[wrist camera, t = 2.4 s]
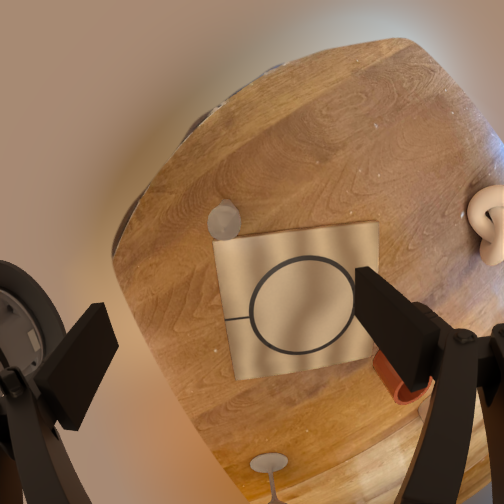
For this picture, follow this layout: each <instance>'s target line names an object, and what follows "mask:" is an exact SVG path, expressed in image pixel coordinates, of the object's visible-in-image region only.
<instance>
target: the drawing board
mask: <svg viewBox="0 0 504 504" xmlns="http://www.w3.org/2000/svg"><path fill="white" fill-rule="evenodd" d="M212 243H213V250H214V256H215V263H216V269H217V276H218V282H219V288H220V295H221V301H222V307H223V313H224V319H225V324H226V330H227V336H228V342H229V347H230V353H231V358H232V364H233V369H234V374H235V380H245V379H253V378H261V377H268V376H275V375H281V374H288V373H294V372H300V371H305V370H311V369H316V368H322V367H327V366H332V365H336V364H341V363H346V362H350V361H355V360H359V359H363V358H367V357H371V356H372V350H373V339H372V338H371V337H370V335H369V334H368V333H367V331H366V330H365V329H364V327H363V326H362V325H361V323H360V322H359V321H358V319H357V318H356V317H355V315H354V312H355V268H359V267H365V266H369V267H370V268H371V269H373V270H374V271H375V272H376V273H377V274H378V271H379V221H376V220H373V221H363V222H354V223H345V224H336V225H327V226H318V227H310V228H301V229H292V230H284V231H276V232H267V233H259V234H251V235H243V236H236V237H235V238H233V239H231V240H226V241H222V240H217V239H213V241H212Z"/></svg>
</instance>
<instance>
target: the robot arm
mask: <svg viewBox="0 0 504 504" xmlns="http://www.w3.org/2000/svg"><path fill="white" fill-rule="evenodd" d="M354 315H355V317H356V318H357V319H358V321H359V322H360V323H361V325H362V326H363V327H364V329H365V330H366V331H367V333H368V334H369V335H370V337H371V338H372V339H373V341H374V342H375V343H376V345H377V346H378V347H379V349H380V350H381V352H382V353H383V354H384V356H385V357H386V358H387V360H388V361H389V363H390V364H391V365H392V367H393V368H394V370H395V371H396V372H397V374H398V375H399V377H400V378H401V379H402V381H403V382H404V384H405V385H406V386H407V388H408V389H409V391H410V392H411V393H413V392H416V391H418V390H421V389H424V388H426V387H427V386H428V383H429V379H430V376H431V377H432V378H433V379H434V380H435V385H434V388H433V391H432V395H431V398H430V404H429V407H428V411H427V415H426V418H425V422H424V425H423V428H422V431H421V434H420V438H419V441H418V444H417V447H416V449H415V452H414V455H413V458H412V461H411V463H410V466H409V468H408V471H407V473H406V476H405V478H404V481H403V483H402V486H401V488H400V490H399V493H398V495H397V497H396V499H395V501H394V504H456V500H457V497H458V493H459V490H460V486H461V482H462V478H463V474H464V469H465V465H466V460H467V455H468V450H469V445H470V439H471V433H472V426H473V419H474V410H475V401H476V389H477V390H478V394H479V399H480V404H481V408H482V413H483V419H484V424H485V430H486V436H487V443H488V450H489V458H490V468H491V479H492V496H493V504H504V323H501V324H497V325H495V326H494V327H493V329H492V333H491V336H486V337H478V338H477V335H476V334H475V333H474V332H472V331H470V330H467V329H453V328H452V327H451V326H450V325H449V324H448V323H446V322H445V321H444V320H443V319H442V318H441V317H438V315H437V314H436V313H435V312H433V311H432V310H431V309H430V308H429V307H428V306H426V305H424V304H422V303H419V302H413V303H411V302H410V301H409V300H408V299H407V298H406V297H404V296H403V295H402V294H401V293H400V292H399V291H397V290H396V289H395V288H394V287H393V286H392V285H390V284H389V283H388V282H387V281H386V280H385V279H383V278H382V277H381V276H380V275H379V274H377V273H376V272H375V271H374V270H373V269H371V268H370V267H369V266H365V267H359V268H355V312H354ZM118 347H119V345H118V342H117V339H116V337H115V334H114V331H113V328H112V325H111V323H110V319H109V316H108V313H107V310H106V307H105V305H104V302H102V303H93V304H91V305H90V307H89V308H88V309H87V310H86V311H85V313H84V314H83V315H82V316H81V317H80V318H79V320H78V321H77V322H76V323H75V325H74V326H73V327H72V328H71V330H70V331H69V332H68V333H67V335H66V336H65V337H64V338H63V340H62V341H61V342H60V343H59V345H58V346H57V347H56V348H55V350H53V351H52V352H51V353H49V354H48V355H47V356H46V357H45V354H46V343H45V337H44V334H43V331H42V328H41V326H40V324H39V322H38V320H37V318H36V316H35V315H34V313H33V312H32V310H31V309H30V308H29V307H28V305H27V304H26V303H25V302H24V301H23V300H22V299H21V298H20V297H19V296H18V295H17V294H15V293H14V292H12V291H11V290H9V289H7V288H5V287H1V286H0V504H23V491H24V495H25V498H26V501H27V504H92V503H91V501H90V499H89V497H88V495H87V494H86V492H85V490H84V488H83V486H82V484H81V482H80V480H79V478H78V476H77V474H76V472H75V470H74V468H73V465H72V463H71V461H70V459H69V457H68V454H67V452H66V450H65V447H64V445H63V443H62V440H61V438H60V435H59V433H58V431H57V429H56V428H55V426H54V425H55V423H56V421H57V420H58V421H59V423H60V424H61V426H62V427H63V429H65V430H73V431H78V430H79V428H80V426H81V423H82V421H83V419H84V417H85V414H86V412H87V410H88V408H89V406H90V404H91V402H92V399H93V397H94V395H95V393H96V391H97V389H98V387H99V385H100V383H101V381H102V379H103V377H104V375H105V373H106V370H107V369H108V367H109V365H110V363H111V361H112V359H113V357H114V355H115V353H116V351H117V349H118ZM34 370H35V372H34V373H33V374H32V376H31V377H30V378H29V380H28V381H26V379H25V377H24V376H26V375H28V374H29V373H31V372H33V371H34ZM3 394H4V396H3V397H2V395H3ZM22 488H23V491H22Z"/></svg>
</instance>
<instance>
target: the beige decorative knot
mask: <svg viewBox="0 0 504 504" xmlns="http://www.w3.org/2000/svg"><path fill="white" fill-rule="evenodd" d="M486 211H488V212H489V215H490V217H491V219H492V221H491V220H490V219H489V218H488V217H487V216H486V215H485V212H486ZM467 215H468V220H469V222H470V224H471V226H472V228H473V229H474V230H475V232H476V233H477V234H478V235H480V236H481V237H482V241H481V245H480V250H479V251H480V256H481V259H482V261H483V262H484V263H485V264H486V265H490V266H495V265H497V264H499V263H501V262H502V261H503V260H504V185H493V186H489V187H486V188H483V189H482V190H480V191H478V192H477V193H476V194H475V195H474V196H473V198H472V199H471V200H470V202H469V205H468V208H467Z"/></svg>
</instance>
